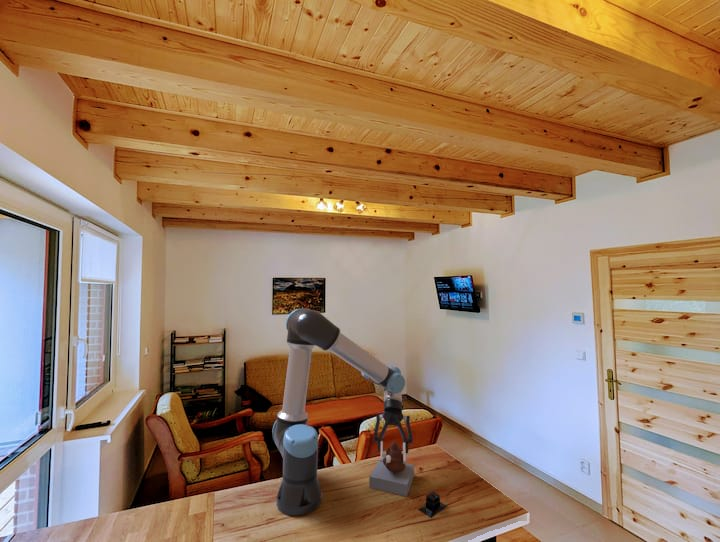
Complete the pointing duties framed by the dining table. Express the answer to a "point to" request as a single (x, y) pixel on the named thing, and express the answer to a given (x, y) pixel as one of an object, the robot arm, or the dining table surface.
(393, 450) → the poop emoji
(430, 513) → the black mounting bracket
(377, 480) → the grey block
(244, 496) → the dining table surface
